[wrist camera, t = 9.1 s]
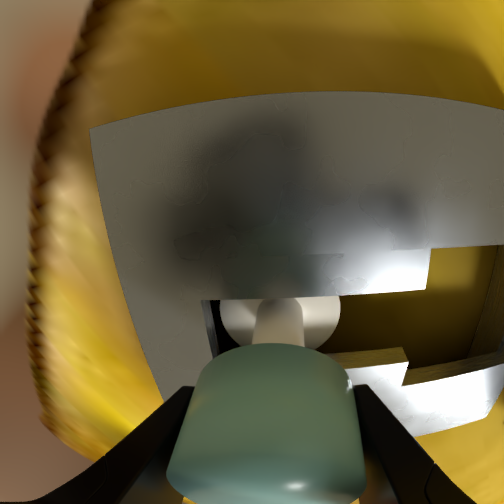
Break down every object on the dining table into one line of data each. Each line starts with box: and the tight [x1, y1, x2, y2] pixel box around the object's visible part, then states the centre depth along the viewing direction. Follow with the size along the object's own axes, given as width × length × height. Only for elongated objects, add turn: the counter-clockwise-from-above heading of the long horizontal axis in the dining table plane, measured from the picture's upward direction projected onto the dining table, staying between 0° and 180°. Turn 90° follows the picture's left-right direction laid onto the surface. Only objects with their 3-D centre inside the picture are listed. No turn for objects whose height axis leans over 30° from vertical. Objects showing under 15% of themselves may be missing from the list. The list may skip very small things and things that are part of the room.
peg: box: [166, 296, 367, 504], centre depth 9 cm, size 5×5×9 cm
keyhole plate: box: [89, 91, 504, 437], centre depth 12 cm, size 18×16×4 cm
